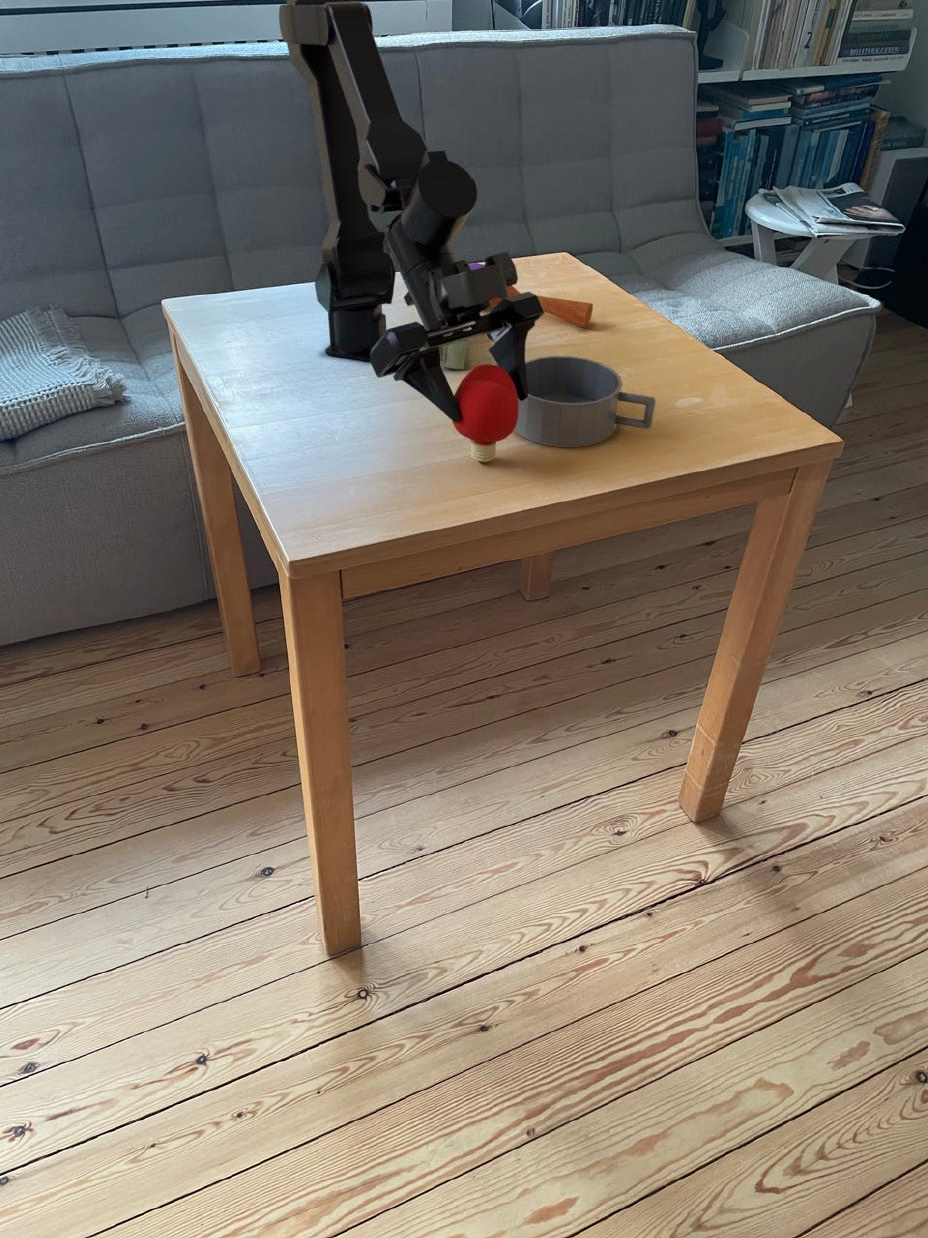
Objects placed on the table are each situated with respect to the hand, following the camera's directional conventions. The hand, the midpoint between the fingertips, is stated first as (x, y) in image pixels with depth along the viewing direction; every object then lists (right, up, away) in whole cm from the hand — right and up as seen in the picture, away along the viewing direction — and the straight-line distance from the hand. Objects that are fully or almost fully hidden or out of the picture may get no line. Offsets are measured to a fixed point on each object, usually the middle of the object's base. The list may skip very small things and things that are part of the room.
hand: (492, 410), depth 95 cm
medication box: (-4, +14, +27) cm, 31 cm away
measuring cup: (+10, +1, +12) cm, 16 cm away
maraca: (+5, +22, +37) cm, 43 cm away
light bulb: (-1, -5, +5) cm, 7 cm away
